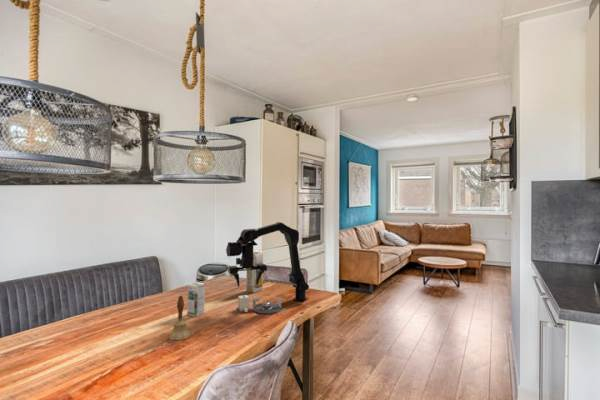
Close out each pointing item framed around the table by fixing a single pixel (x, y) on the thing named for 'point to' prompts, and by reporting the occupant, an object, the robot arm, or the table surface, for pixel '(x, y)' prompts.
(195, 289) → the syrup box
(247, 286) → the juice carton
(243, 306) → the cream block with tab
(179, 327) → the hand bell
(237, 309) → the rubber pad
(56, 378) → the table surface
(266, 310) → the lugged metal disc
